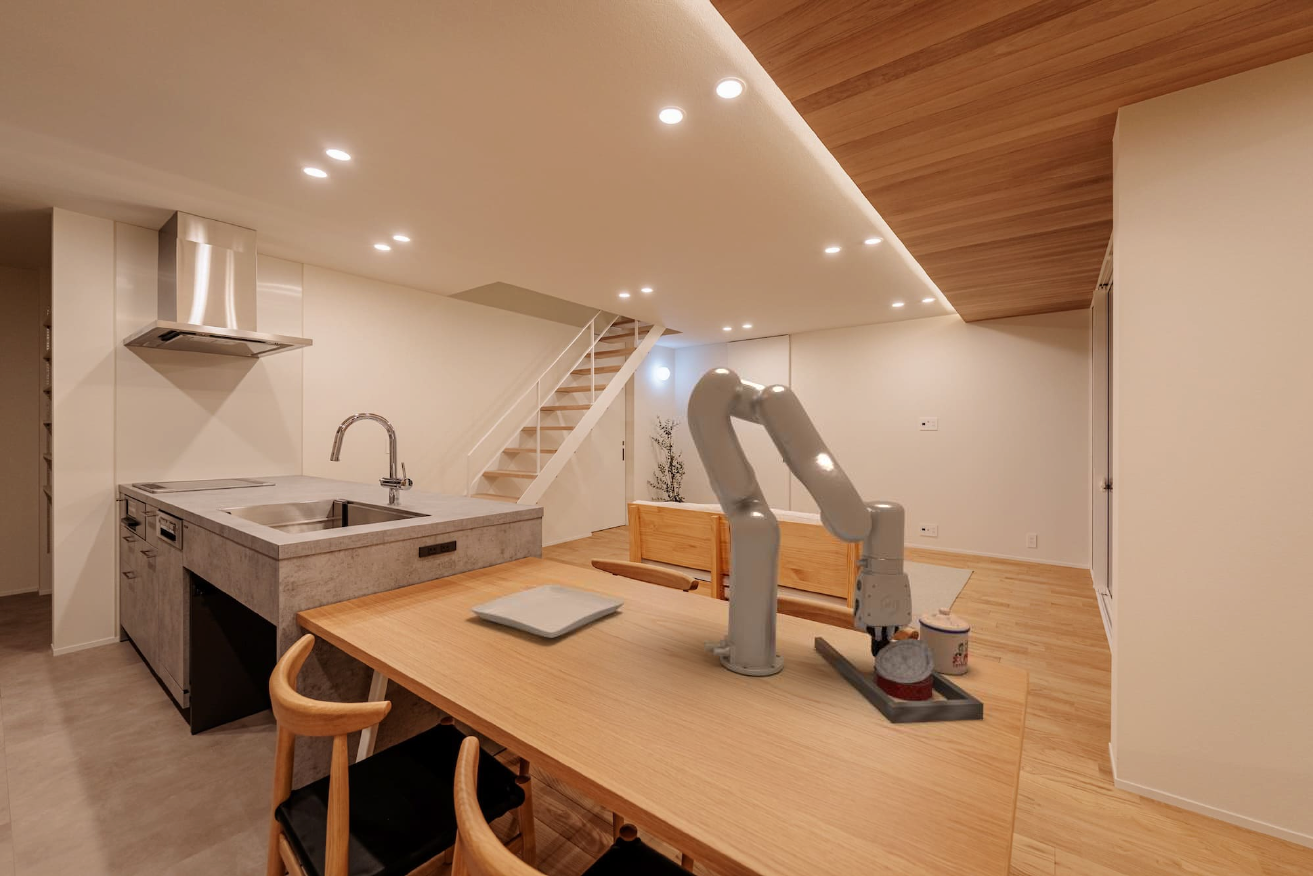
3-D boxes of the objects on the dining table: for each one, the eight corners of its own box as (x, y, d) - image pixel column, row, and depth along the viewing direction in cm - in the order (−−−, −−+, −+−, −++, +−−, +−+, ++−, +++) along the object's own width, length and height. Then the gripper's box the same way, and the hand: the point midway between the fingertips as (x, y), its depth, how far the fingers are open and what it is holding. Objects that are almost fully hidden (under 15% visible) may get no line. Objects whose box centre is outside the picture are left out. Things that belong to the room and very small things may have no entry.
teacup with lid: (962, 680, 100) (964, 619, 100) (912, 665, 107) (913, 608, 107) (976, 661, 109) (978, 605, 109) (928, 649, 116) (930, 596, 115)
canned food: (933, 722, 94) (953, 686, 89) (875, 713, 95) (892, 676, 90) (913, 668, 104) (930, 633, 99) (861, 660, 104) (876, 625, 100)
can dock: (892, 722, 85) (892, 707, 85) (814, 648, 114) (814, 637, 114) (983, 718, 87) (983, 703, 87) (883, 647, 116) (884, 635, 116)
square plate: (627, 614, 134) (627, 599, 134) (551, 649, 111) (551, 631, 111) (548, 595, 148) (548, 581, 148) (467, 622, 125) (467, 606, 125)
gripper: (856, 570, 98) (854, 668, 98) (929, 569, 100) (927, 665, 101) (837, 560, 106) (835, 652, 106) (905, 560, 108) (903, 649, 108)
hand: (880, 658), depth 103 cm, fingers closed
